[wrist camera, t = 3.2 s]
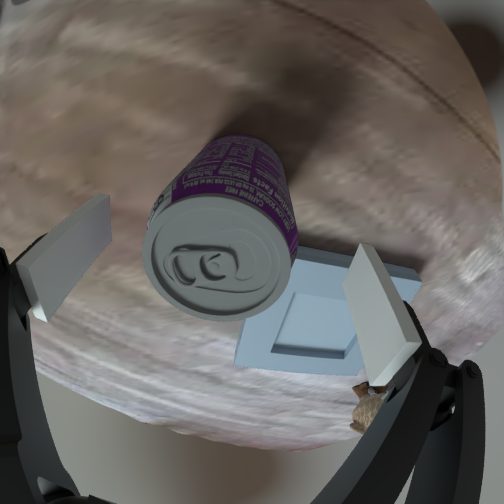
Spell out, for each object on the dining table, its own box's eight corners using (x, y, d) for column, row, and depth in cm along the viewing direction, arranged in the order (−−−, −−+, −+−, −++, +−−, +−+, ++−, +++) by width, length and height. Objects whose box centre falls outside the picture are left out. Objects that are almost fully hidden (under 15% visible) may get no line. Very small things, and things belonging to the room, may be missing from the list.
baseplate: (263, 238, 24) (263, 252, 22) (414, 269, 25) (422, 282, 23) (235, 350, 33) (233, 365, 31) (353, 362, 34) (356, 375, 32)
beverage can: (203, 222, 23) (162, 329, 13) (186, 141, 20) (108, 200, 10) (287, 213, 23) (304, 323, 13) (279, 127, 19) (298, 172, 9)
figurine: (407, 370, 36) (431, 453, 23) (380, 400, 41) (395, 472, 28) (358, 372, 35) (376, 466, 23) (335, 402, 40) (344, 482, 28)
